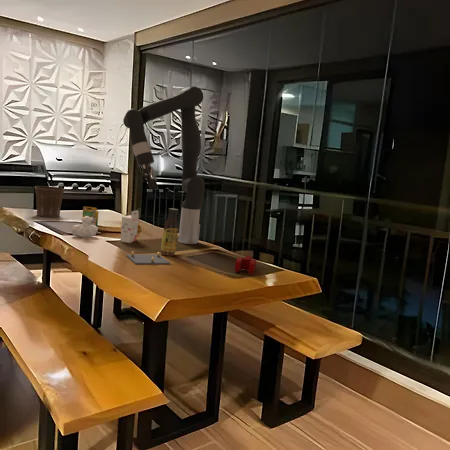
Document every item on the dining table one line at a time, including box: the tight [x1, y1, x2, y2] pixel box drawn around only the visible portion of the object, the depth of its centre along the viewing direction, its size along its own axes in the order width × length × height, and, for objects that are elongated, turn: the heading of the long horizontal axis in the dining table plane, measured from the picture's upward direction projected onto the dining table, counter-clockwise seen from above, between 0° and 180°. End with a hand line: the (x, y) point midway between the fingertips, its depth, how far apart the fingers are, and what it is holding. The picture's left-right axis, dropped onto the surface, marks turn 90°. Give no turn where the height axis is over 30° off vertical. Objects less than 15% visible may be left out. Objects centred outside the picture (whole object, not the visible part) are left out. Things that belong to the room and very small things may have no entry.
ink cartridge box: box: [120, 209, 139, 244], centre depth 218 cm, size 9×5×15 cm, turn 168°
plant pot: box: [34, 185, 66, 218], centre depth 265 cm, size 16×16×16 cm
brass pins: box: [130, 250, 161, 263], centre depth 183 cm, size 12×10×2 cm
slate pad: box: [125, 253, 171, 265], centre depth 184 cm, size 14×14×1 cm
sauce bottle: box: [160, 207, 179, 257], centre depth 197 cm, size 7×6×20 cm
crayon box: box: [81, 206, 99, 228], centre depth 237 cm, size 7×3×12 cm, turn 84°
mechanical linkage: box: [234, 255, 257, 275], centre depth 186 cm, size 16×7×5 cm, turn 170°
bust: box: [71, 216, 99, 239], centre depth 214 cm, size 12×8×11 cm
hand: (153, 188), depth 206 cm, fingers open, 8 cm apart
